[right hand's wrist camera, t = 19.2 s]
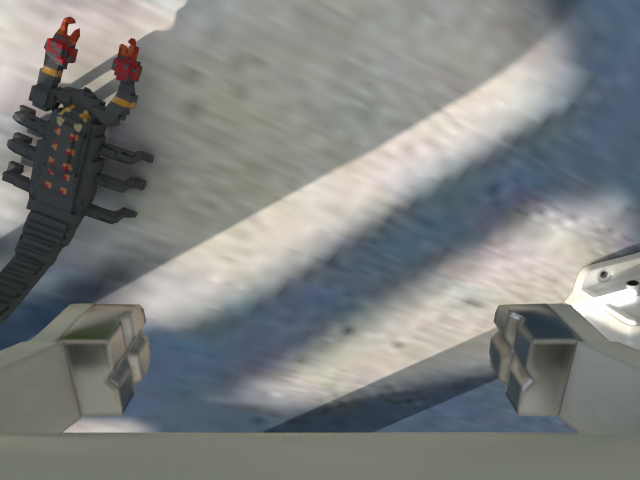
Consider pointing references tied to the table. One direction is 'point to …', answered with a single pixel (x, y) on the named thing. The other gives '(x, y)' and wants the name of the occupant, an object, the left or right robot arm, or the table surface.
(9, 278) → the toy
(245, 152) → the table surface
